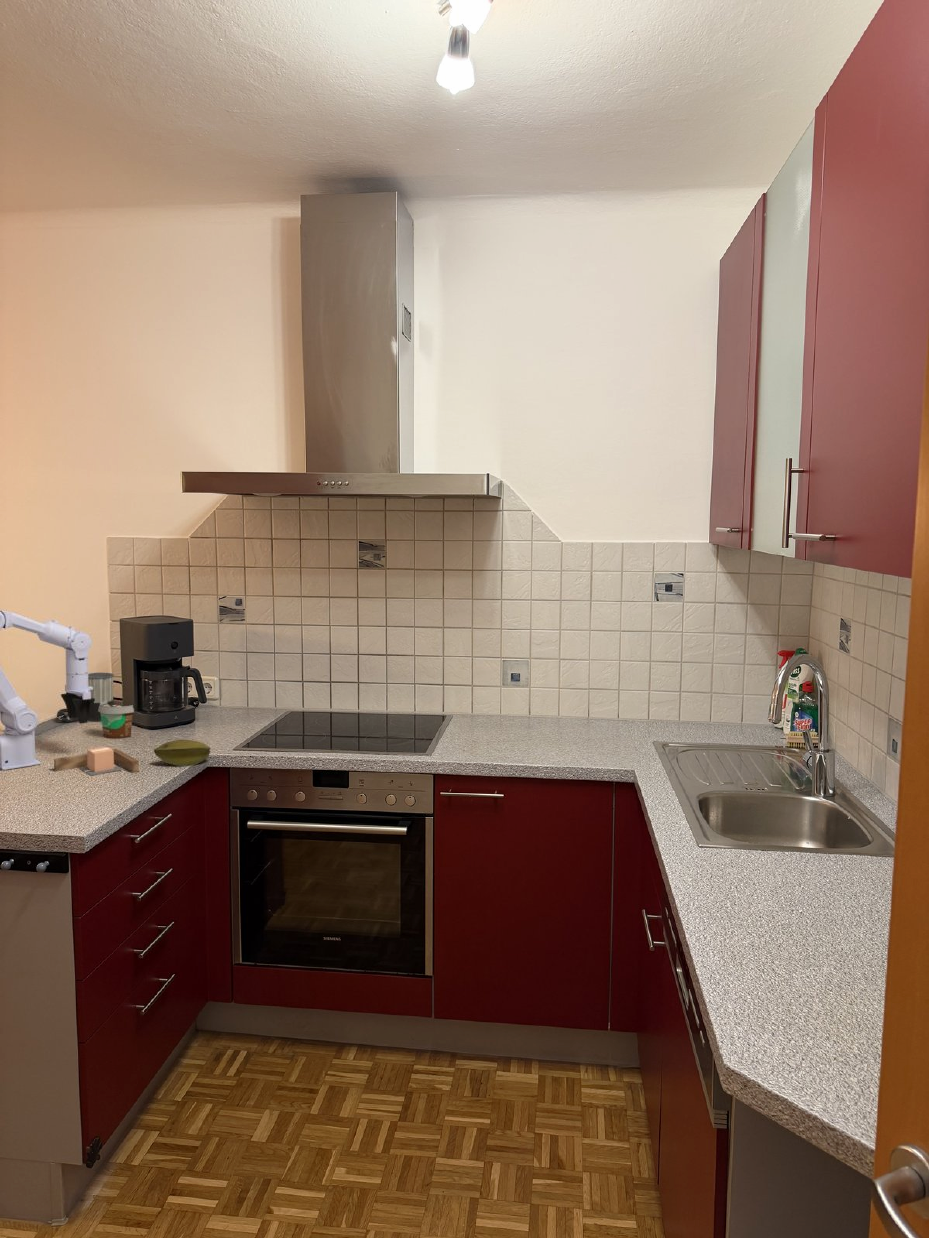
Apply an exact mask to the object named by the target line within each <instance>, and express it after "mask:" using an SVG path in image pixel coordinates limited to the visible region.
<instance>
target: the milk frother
mask: <svg viewBox="0 0 929 1238" xmlns="http://www.w3.org/2000/svg"><path fill="white" fill-rule="evenodd" d="M114 676H115V674H114V673H110V672H92V673H91V672H90V673H88V685H89V686H91V687H93V690H89V692H91V698H95V702H94V703H93V705H92V707H91V710H90V714H89V718H88V721H89V722H102V720H101V713H100V712H99V711H98V709H99V705H100V703H102V702H104V701H107V704H111V705H114ZM56 712H57V713H56V718H57V717H59V716H62V715H64V716H63V717H61V718H60V719H62V722H63V721H65V722H64V723H73V722H79V721H78V717H77V718H69V715H65V714H68V711H67V708H62V709H59V710H58V711H56Z"/></svg>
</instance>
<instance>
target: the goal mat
mask: <svg viewBox="0 0 929 1238" xmlns="http://www.w3.org/2000/svg"><path fill="white" fill-rule="evenodd" d="M79 769H80V770H81V771H83V772H84V773H85V774H87V775H89V776H90V777H91V776H97V775H102V774H103V775H104V774H109V773H114V772H120V771H122V768H120V767H119V766H117V765H115V764H114V769H110V770H105V771H99V772H94V771H92V770H90V769H88V767H87V766H84V767H79Z"/></svg>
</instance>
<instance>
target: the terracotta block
mask: <svg viewBox="0 0 929 1238" xmlns="http://www.w3.org/2000/svg"><path fill="white" fill-rule="evenodd" d="M86 754H87V766H86V767H88V769H90V770H92V771H94V772H99V771H105V770H110V769H114V765H115V762H114V751H113V750H112V748H109V747H107V746H101V747H96V748H90V749H86Z"/></svg>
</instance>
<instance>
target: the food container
mask: <svg viewBox="0 0 929 1238" xmlns="http://www.w3.org/2000/svg"><path fill="white" fill-rule="evenodd" d="M133 706H134V705H133V704H132V705H122V704H113V705H111V704H107V701H104V702H102V703H100V705H99V709H98V711H99V712H100V713H101V720H102V721H101V728H102V736H103V738H105V739H111V740H112V739H113V740H118V739H119V740H120V739H127V738H128V739H129V738H131V737H132V725H133V713H135V709H134V707H133Z"/></svg>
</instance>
